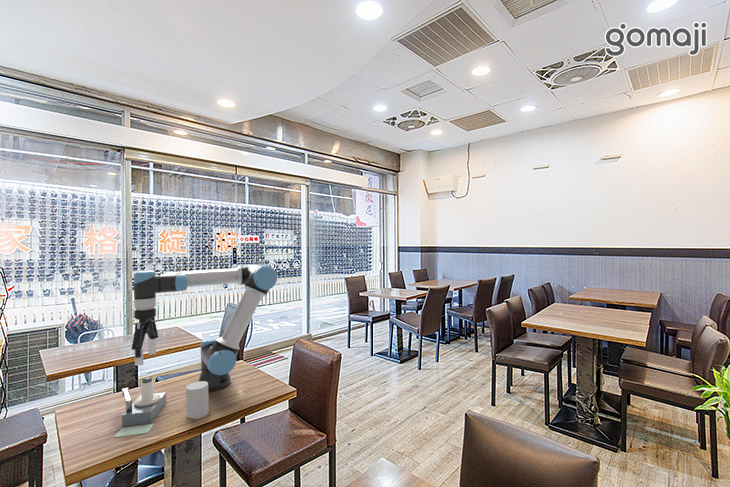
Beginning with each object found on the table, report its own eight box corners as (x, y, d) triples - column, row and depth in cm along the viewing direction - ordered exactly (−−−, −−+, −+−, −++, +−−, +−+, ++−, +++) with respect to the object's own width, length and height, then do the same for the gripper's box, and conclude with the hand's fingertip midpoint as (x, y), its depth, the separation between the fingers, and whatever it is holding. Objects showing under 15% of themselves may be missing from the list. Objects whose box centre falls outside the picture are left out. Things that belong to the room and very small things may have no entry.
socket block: (166, 403, 148) (166, 392, 148) (151, 424, 131) (151, 411, 131) (140, 406, 146) (140, 394, 146) (122, 428, 129) (121, 415, 129)
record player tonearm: (128, 396, 144) (127, 387, 144) (132, 411, 132) (132, 400, 132) (122, 398, 143) (122, 388, 143) (126, 412, 130) (126, 402, 130)
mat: (154, 425, 130) (154, 423, 130) (148, 434, 124) (148, 432, 124) (121, 429, 128) (121, 427, 128) (114, 439, 122) (114, 436, 122)
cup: (187, 411, 141) (187, 383, 141) (209, 407, 144) (208, 379, 144) (185, 421, 133) (185, 391, 133) (208, 416, 136) (207, 387, 136)
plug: (164, 405, 145) (163, 373, 145) (156, 416, 136) (155, 381, 136) (140, 408, 143) (139, 375, 143) (130, 419, 134) (129, 384, 134)
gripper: (146, 303, 150) (147, 350, 150) (120, 315, 126) (121, 371, 126) (165, 302, 152) (166, 349, 152) (143, 314, 128) (144, 369, 128)
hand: (146, 359), depth 139 cm, fingers open, 13 cm apart
